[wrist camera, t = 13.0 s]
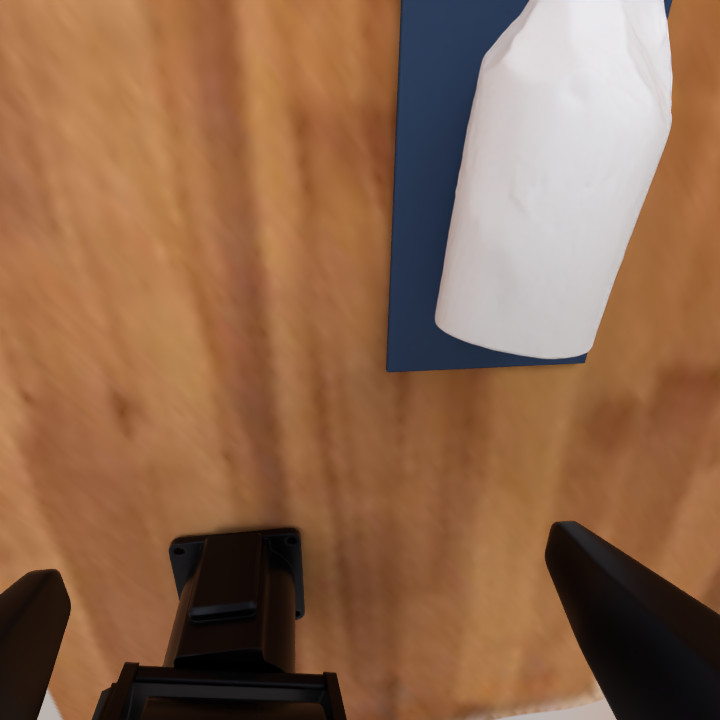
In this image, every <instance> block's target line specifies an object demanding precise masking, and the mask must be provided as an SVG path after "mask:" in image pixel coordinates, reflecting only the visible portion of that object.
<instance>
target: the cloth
mask: <svg viewBox="0 0 720 720" xmlns="http://www.w3.org/2000/svg"><path fill="white" fill-rule="evenodd" d="M528 2H529V0H401V17H400V41H399V66H398V91H397V116H396V141H395V166H394V191H393V216H392V241H391V266H390V291H389V316H388V341H387V366H386V370H387V372H404V371H426V370H447V369H468V368H490V367H511V366H533V365H554V364H575V363H585V360H586V356H587V353H585V354H583V355H580V356H576V357H570V358H559V359H541V358H535V357H528V356H521V355H516V354H511V353H505V352H500V351H495V350H491V349H488V348H484V347H482V346H478V345H474V344H471V343H468V342H465V341H463V340H460V339H458V338H455V337H453V336H451V335H449V334H447V333H445V332H444V331H443V330H441V329H440V328H439V327H438V326H437V325H436V323H435V313H436V306H437V300H438V295H439V291H440V283H441V278H442V273H443V268H444V259H445V254H446V247H447V241H448V233H449V229H450V223H451V218H452V212H453V208H454V201H455V198H456V194H455V191H456V187H457V184H458V177H459V171H460V167H461V162H462V157H463V150H464V143H465V138H466V133H467V126H468V122H469V119H470V114H471V109H472V104H473V99H474V96H475V92H476V88H477V81H478V77H479V72H480V67H481V63H482V60H483V57H484V56H485V54H486V53H487V51H488V50H489V49H490V48H491V47H492V46H493V45H494V43H495V42H496V41H497V40H498V38H499V37H500V36H501V35H502V33H503V32H504V31H505V30H506V29H507V28H508V27H509V26H510V24H511V23H512V22H513V21H515V20H516V19H517V18H518V16H519V15H520V14H521V13H522V11H523V10H524V8H525V6H526V5H527V3H528ZM671 3H672V0H664V7H665V14H666V18H667V19H668V15H669V11H670V7H671Z"/></svg>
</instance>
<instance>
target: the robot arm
mask: <svg viewBox="0 0 720 720" xmlns="http://www.w3.org/2000/svg"><path fill="white" fill-rule="evenodd" d="M288 538H293V539H288ZM179 548H182V549H179ZM169 555H170V560H171V564H172V569H173V573H174V578H175V582H176V587H177V591H178V596H179V600H180V602H179V606H178V610H177V613H176V617H175V621H174V625H173V629H172V633H171V637H170V640H169V644H168V648H167V652H166V656H165V660H164V664H163V667H159V666H139V663H133V662H125V664H124V666H123V669H122V671H121V674H120V676H119V679H118V681H117V683H112V685H111V687H110V688H108V689H106V690H104V691H102V693H101V696H100V698H99V701H98V704H97V707H96V709H95V712H94V715H93V718H92V720H347V719H346V714H345V710H344V705H343V701H342V696H341V692H340V687H339V683H338V679H337V674H336V673H331V672H324V673H323V674H302V673H295V620H297V619H300V618H302V617H303V616H304V614H305V605H304V587H303V570H302V552H301V535H300V532H299V531H298V530H297V529H294V528H286V529H274V530H263V531H252V532H240V533H229V534H217V535H206V536H194V537H183V538H177V539H174V540H173V541H172V542H171V545H170V548H169ZM545 561H546V565H547V568H548V570H549V573H550V575H551V578H552V580H553V583H554V585H555V588H556V590H557V593H558V595H559V598H560V600H561V603H562V605H563V608H564V610H565V613H566V615H567V618H568V620H569V623H570V625H571V628H572V630H573V633H574V635H575V637H576V639H577V642H578V644H579V646H580V648H581V650H582V653H583V655H584V657H585V659H586V661H587V663H588V665H589V667H590V668H591V670H592V672H593V674H594V676H595V678H596V680H597V682H598V684H599V686H600V688H601V690H602V692H603V694H604V696H605V698H606V700H607V702H608V704H609V706H610V707H611V709H612V711H613V713H614V715H615V717H616V719H617V720H720V615H719V614H718V613H716V612H715V611H713V610H712V609H710V608H709V607H707V606H705V605H704V604H702V603H701V602H699V601H698V600H696V599H695V598H693V597H692V596H690V595H688V594H687V593H685V592H684V591H682V590H681V589H679V588H678V587H676V586H675V585H673V584H672V583H670V582H668V581H667V580H665V579H664V578H662V577H661V576H659V575H658V574H656V573H655V572H653V571H652V570H650V569H648V568H647V567H645V566H644V565H642V564H641V563H639V562H638V561H636V560H635V559H633V558H632V557H630V556H628V555H627V554H625V553H624V552H622V551H621V550H619V549H618V548H616V547H615V546H613V545H611V544H610V543H608V542H607V541H605V540H604V539H602V538H601V537H599V536H598V535H596V534H595V533H593V532H591V531H590V530H588V529H587V528H585V527H584V526H582V525H581V524H579V523H577V522H575V521H562V522H555V523H554V524H553V525H552V526H551V529H550V533H549V537H548V542H547V546H546V550H545ZM70 610H71V602H70V598H69V596H68V593H67V590H66V587H65V585H64V582H63V579H62V577H61V574H60V572H59V571H58V570H56V569H46V570H35V571H31V572H29V573H27V574H25V575H24V576H23V577H21V578H20V579H19V580H18V581H16V582H15V583H14V584H13V585H11V586H10V587H9V588H8V589H6V590H5V591H4V592H3V593H2V594H0V720H37V717H38V715H39V712H40V709H41V706H42V703H43V700H44V697H45V694H46V691H47V687H48V684H49V681H50V678H51V674H52V671H53V668H54V665H55V661H56V658H57V655H58V652H59V648H60V645H61V642H62V639H63V635H64V632H65V629H66V626H67V622H68V619H69V616H70Z"/></svg>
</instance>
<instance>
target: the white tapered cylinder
mask: <svg viewBox="0 0 720 720" xmlns="http://www.w3.org/2000/svg"><path fill="white" fill-rule="evenodd" d="M672 80H673V75H672V68H671V52H670V42H669V34H668V24H667V18H666V14H665V7H664V0H529V2H528V3H527V5H526V6H525V8H524V10H523V11H522V13H521V14H520V15H519V16H518V18H517V19H516V20H515V21H513V22H512V23H511V24H510V26H509V27H508V28H507V29H506V30H505V31H504V32H503V33H502V35H501V36H500V37H499V38H498V40H497V41H496V42H495V43H494V45H493V46H492V47H491V48H490V49H489V50H488V51H487V53H486V54H485V56H484V57H483V60H482V63H481V67H480V72H479V77H478V81H477V88H476V92H475V96H474V99H473V104H472V109H471V114H470V119H469V122H468V126H467V133H466V138H465V143H464V150H463V157H462V162H461V167H460V171H459V177H458V184H457V187H456V191H455V194H456V198H455V201H454V208H453V212H452V218H451V223H450V229H449V233H448V241H447V247H446V254H445V259H444V268H443V273H442V278H441V283H440V291H439V295H438V300H437V306H436V313H435V323H436V325H437V326H438V327H439V328H440V329H441V330H443V331H444V332H445V333H447V334H449V335H451V336H453V337H455V338H458V339H460V340H463V341H465V342H468V343H471V344H474V345H478V346H482V347H484V348H488V349H491V350H495V351H500V352H505V353H511V354H516V355H521V356H528V357H535V358H541V359H559V358H570V357H576V356H580V355H583V354H585V353H587V352H588V351H590V349H591V348H592V346H593V343H594V340H595V337H596V333H597V330H598V327H599V324H600V321H601V318H602V315H603V313H604V310H605V307H606V304H607V301H608V298H609V295H610V292H611V289H612V286H613V283H614V281H615V277H616V275H617V273H618V270H619V268H620V265H621V263H622V260H623V257H624V254H625V251H626V247H627V245H628V242H629V239H630V237H631V235H632V232H633V229H634V226H635V224H636V221H637V219H638V216H639V213H640V210H641V208H642V205H643V203H644V200H645V197H646V195H647V192H648V189H649V186H650V184H651V182H652V179H653V177H654V174H655V171H656V169H657V166H658V163H659V160H660V158H661V156H662V153H663V150H664V147H665V145H666V142H667V139H668V135H669V132H670V127H671V122H672V114H671V104H672V101H671V93H672Z"/></svg>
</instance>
